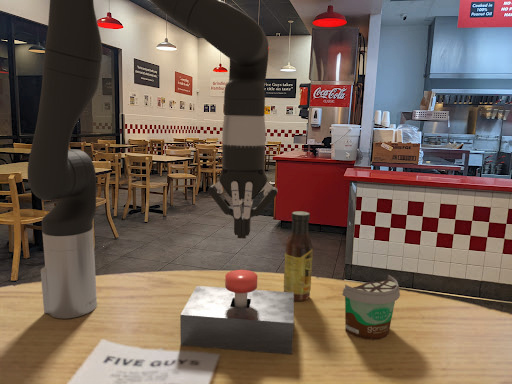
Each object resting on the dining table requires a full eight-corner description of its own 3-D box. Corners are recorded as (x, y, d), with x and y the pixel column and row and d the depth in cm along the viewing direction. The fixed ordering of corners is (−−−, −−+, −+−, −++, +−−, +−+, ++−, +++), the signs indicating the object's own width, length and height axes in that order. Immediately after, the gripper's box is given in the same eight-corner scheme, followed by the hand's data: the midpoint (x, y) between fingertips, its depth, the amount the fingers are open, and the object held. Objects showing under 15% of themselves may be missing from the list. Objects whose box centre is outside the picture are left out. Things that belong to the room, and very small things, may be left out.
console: (180, 345, 70) (180, 314, 69) (196, 312, 82) (196, 285, 80) (292, 354, 68) (293, 323, 67) (292, 319, 80) (293, 292, 79)
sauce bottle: (309, 304, 87) (314, 218, 83) (281, 300, 88) (285, 215, 84) (311, 291, 93) (315, 211, 89) (285, 288, 94) (288, 209, 91)
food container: (361, 350, 70) (366, 298, 68) (339, 333, 75) (343, 284, 74) (409, 334, 76) (415, 286, 74) (385, 319, 81) (390, 274, 79)
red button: (222, 316, 71) (222, 281, 70) (227, 301, 77) (228, 268, 76) (254, 319, 71) (255, 283, 70) (257, 303, 77) (258, 270, 75)
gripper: (201, 142, 65) (202, 241, 68) (280, 144, 64) (277, 245, 67) (211, 140, 72) (210, 229, 76) (282, 142, 71) (279, 233, 74)
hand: (242, 237), depth 71 cm, fingers closed
